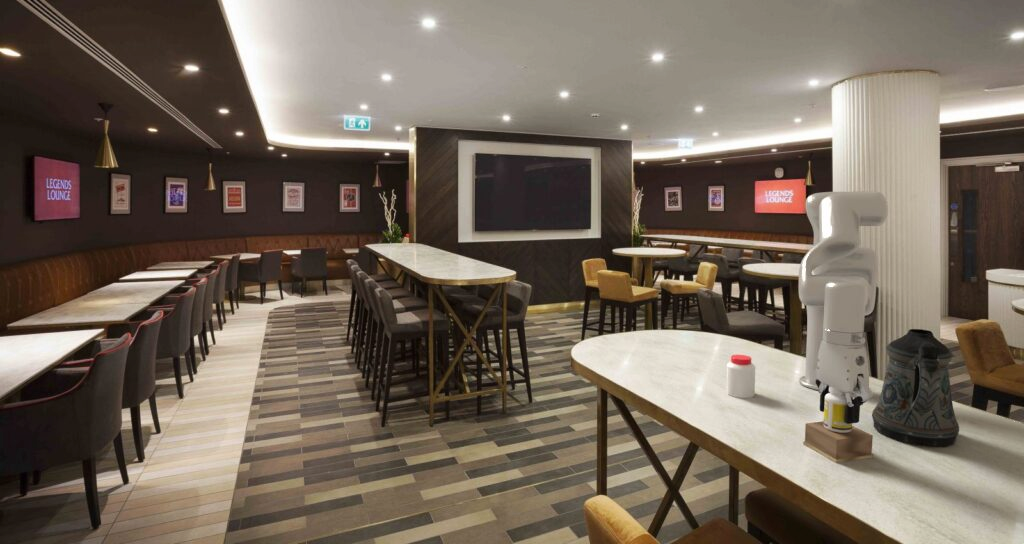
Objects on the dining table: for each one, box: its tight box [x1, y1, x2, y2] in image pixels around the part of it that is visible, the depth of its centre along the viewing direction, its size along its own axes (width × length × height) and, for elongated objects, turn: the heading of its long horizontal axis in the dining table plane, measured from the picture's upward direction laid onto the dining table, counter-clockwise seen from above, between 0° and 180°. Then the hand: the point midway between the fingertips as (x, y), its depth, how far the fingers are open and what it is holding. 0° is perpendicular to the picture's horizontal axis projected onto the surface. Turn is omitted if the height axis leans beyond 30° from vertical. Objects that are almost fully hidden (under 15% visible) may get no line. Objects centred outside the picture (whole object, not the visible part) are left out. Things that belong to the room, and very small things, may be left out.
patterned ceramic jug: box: [871, 328, 960, 449], centre depth 124 cm, size 16×19×25 cm
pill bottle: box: [725, 354, 756, 399], centre depth 156 cm, size 8×8×11 cm
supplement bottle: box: [823, 386, 853, 433], centre depth 118 cm, size 5×5×10 cm
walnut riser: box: [802, 420, 874, 464], centre depth 119 cm, size 9×9×5 cm
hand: (838, 416), depth 118 cm, fingers open, 6 cm apart
